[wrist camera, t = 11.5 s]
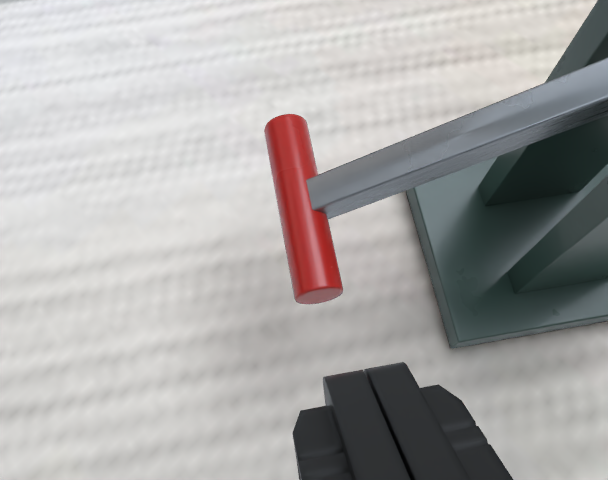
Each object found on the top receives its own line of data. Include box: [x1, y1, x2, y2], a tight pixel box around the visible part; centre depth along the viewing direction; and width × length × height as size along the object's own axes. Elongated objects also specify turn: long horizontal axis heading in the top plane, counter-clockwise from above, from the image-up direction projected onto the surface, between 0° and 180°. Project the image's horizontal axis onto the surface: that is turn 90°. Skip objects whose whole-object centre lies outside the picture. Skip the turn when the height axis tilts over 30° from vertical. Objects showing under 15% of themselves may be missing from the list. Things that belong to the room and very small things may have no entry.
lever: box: [264, 58, 608, 304], centre depth 15 cm, size 14×6×2 cm, turn 100°
